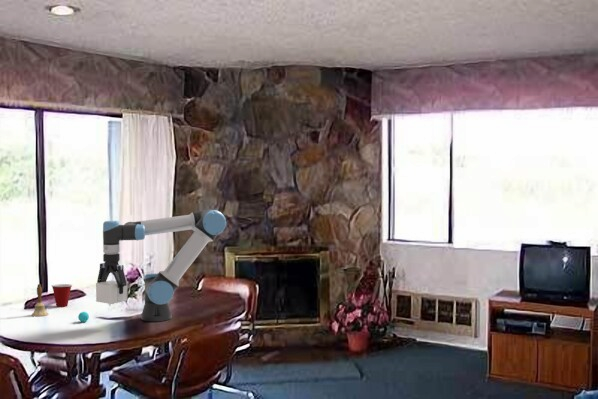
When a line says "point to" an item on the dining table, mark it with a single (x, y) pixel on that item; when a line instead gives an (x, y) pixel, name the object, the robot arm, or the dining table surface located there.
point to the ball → (83, 316)
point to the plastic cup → (61, 294)
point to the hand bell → (39, 304)
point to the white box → (109, 292)
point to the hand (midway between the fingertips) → (111, 299)
